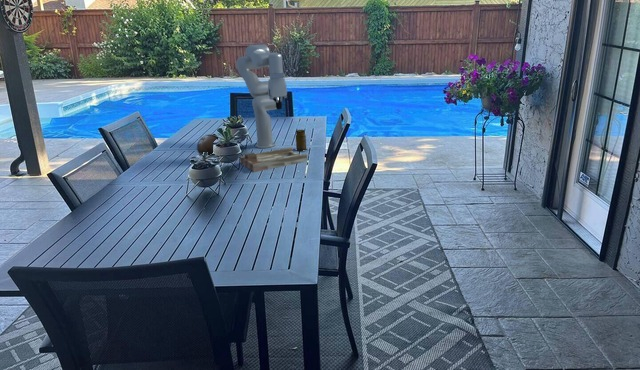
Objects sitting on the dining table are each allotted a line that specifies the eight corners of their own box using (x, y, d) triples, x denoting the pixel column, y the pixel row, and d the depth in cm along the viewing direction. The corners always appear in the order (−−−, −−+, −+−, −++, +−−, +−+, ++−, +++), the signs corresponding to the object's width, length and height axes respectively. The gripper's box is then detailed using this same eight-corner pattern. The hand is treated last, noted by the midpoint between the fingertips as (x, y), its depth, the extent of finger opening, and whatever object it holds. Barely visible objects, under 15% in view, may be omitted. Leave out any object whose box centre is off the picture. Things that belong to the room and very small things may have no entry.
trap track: (240, 163, 271) (239, 156, 270) (291, 153, 286) (291, 147, 284) (253, 172, 255) (253, 164, 253) (307, 161, 269) (307, 154, 268)
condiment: (302, 147, 298) (301, 128, 294) (311, 149, 292) (310, 130, 288) (293, 150, 294) (291, 130, 290) (301, 152, 288) (300, 132, 284)
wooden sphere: (193, 162, 279) (189, 137, 274) (210, 155, 291) (207, 131, 286) (213, 164, 272) (210, 138, 267) (230, 157, 284) (227, 132, 279)
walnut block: (245, 161, 268) (244, 154, 267) (253, 159, 270) (253, 152, 269) (248, 163, 264) (247, 156, 263) (257, 161, 266) (256, 154, 265)
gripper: (285, 74, 277) (288, 106, 283) (261, 77, 270) (264, 109, 276) (291, 75, 270) (293, 108, 276) (266, 78, 264) (269, 111, 270)
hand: (279, 108), depth 276 cm, fingers closed
